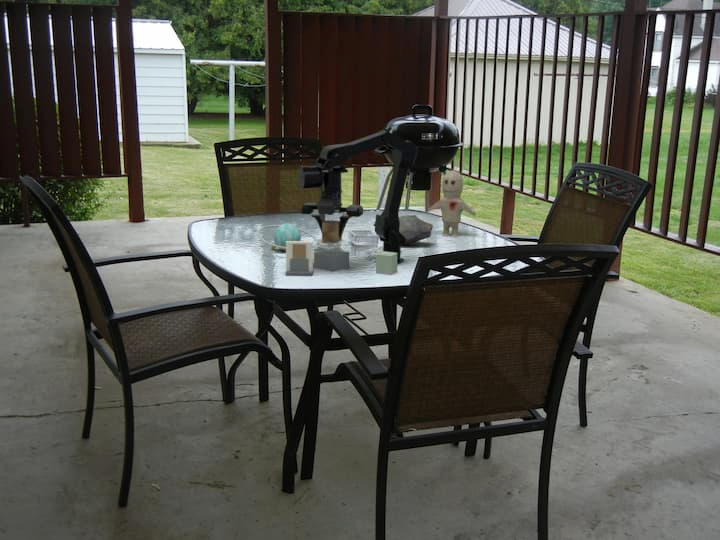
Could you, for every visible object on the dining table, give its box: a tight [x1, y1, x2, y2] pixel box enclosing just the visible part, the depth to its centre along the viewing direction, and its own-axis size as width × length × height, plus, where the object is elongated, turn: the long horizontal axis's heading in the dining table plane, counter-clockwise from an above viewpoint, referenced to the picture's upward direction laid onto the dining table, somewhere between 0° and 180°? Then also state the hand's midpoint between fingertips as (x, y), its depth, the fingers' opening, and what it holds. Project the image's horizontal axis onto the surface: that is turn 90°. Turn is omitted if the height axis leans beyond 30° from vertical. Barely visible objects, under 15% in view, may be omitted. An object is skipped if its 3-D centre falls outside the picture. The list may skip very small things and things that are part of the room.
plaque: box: [285, 240, 314, 277], centre depth 234 cm, size 8×5×10 cm, turn 91°
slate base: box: [313, 248, 350, 272], centre depth 243 cm, size 8×8×5 cm
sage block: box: [375, 250, 398, 276], centre depth 238 cm, size 5×5×6 cm
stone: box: [399, 214, 434, 245], centre depth 278 cm, size 18×10×15 cm
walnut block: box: [321, 219, 343, 244], centre depth 241 cm, size 5×5×6 cm
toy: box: [427, 169, 477, 238], centre depth 292 cm, size 18×8×25 cm, turn 65°
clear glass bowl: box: [256, 222, 319, 252], centre depth 265 cm, size 10×20×20 cm
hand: (332, 236), depth 241 cm, fingers closed on walnut block, 5 cm apart
